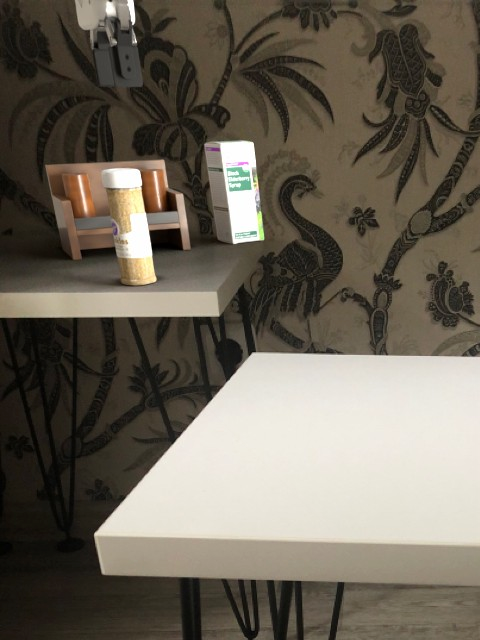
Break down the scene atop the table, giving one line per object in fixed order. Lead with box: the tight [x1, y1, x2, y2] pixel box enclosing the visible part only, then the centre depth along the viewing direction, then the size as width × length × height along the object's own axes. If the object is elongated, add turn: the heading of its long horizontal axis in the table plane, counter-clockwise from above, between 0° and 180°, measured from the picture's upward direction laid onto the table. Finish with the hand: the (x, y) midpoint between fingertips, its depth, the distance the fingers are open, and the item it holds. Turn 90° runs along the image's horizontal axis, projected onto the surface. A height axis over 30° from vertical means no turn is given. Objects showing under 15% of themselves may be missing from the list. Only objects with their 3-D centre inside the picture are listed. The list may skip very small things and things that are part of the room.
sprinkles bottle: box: [102, 168, 158, 287], centre depth 116 cm, size 5×5×14 cm
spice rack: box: [44, 159, 192, 261], centre depth 139 cm, size 17×10×12 cm, turn 119°
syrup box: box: [203, 140, 265, 245], centre depth 145 cm, size 6×6×14 cm
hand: (120, 86), depth 110 cm, fingers open, 9 cm apart
